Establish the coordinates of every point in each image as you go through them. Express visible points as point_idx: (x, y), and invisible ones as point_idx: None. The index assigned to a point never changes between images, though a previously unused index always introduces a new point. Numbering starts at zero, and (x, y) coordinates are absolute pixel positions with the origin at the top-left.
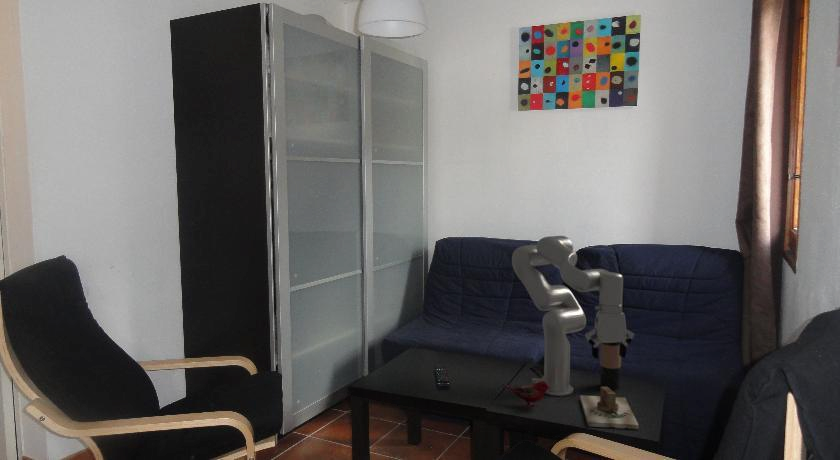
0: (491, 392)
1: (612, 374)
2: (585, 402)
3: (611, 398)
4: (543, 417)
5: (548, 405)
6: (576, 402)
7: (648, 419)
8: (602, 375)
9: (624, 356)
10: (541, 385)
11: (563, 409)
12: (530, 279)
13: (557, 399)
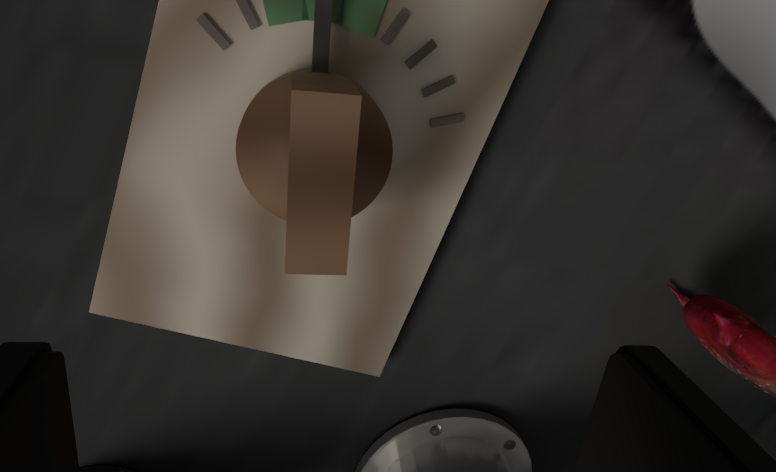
0: None
1: None
2: (405, 273)
3: (333, 86)
4: (719, 151)
5: (594, 302)
6: (420, 322)
7: None
8: None
9: (12, 355)
10: (773, 339)
11: (548, 240)
12: None
13: (501, 370)
